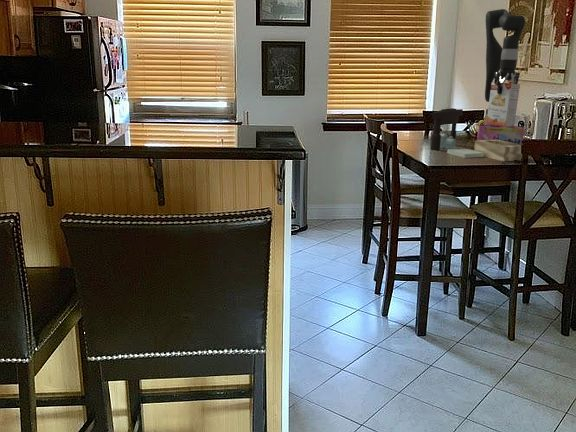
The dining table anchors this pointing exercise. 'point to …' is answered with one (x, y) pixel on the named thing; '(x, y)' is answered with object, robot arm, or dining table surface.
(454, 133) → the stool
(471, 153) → the plate
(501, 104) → the cracker box
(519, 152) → the holder
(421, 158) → the dining table surface
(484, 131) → the gum box
